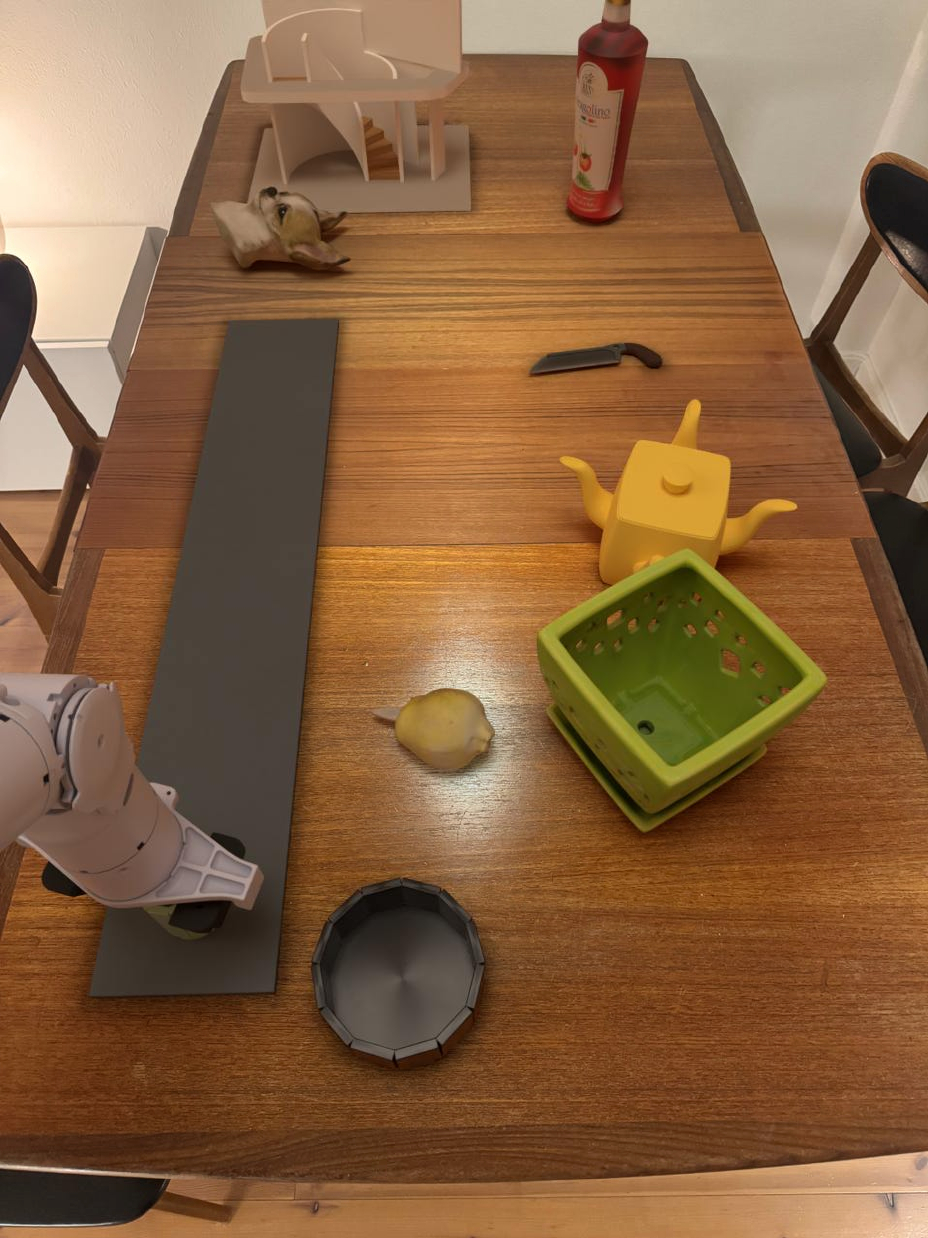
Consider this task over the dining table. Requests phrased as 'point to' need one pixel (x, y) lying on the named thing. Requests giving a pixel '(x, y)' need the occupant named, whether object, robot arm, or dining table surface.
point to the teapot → (668, 505)
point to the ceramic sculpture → (278, 230)
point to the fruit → (442, 727)
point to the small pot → (163, 916)
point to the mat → (237, 655)
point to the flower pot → (671, 685)
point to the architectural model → (360, 104)
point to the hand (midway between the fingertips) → (177, 899)
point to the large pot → (399, 973)
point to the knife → (595, 357)
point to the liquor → (605, 110)
